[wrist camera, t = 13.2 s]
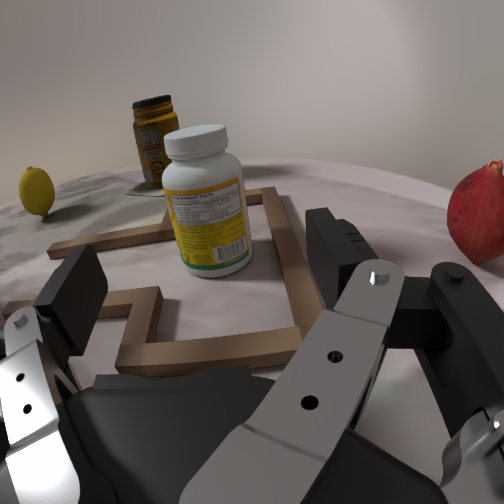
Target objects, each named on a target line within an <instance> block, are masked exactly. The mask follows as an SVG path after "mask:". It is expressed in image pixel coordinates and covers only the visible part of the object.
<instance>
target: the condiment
mask: <svg viewBox="0 0 504 504" xmlns="http://www.w3.org/2000/svg"><path fill="white" fill-rule="evenodd" d="M171 102H172V101H171V96H170V95H163V96H158V97H154V98H149V99H145V100H141V101H138V102H135V103H133V106H132V108H133V111H134V114H133V115H134V118H135V119H134V124H133V129H134V134H135V138H136V144H137V148H138V152H139V157H140V161H141V166H142V170H143V174H144V178H145V181H146V182H144V183H141V184H139V185H138V186H136V187H134V188H133V189H130V190H128V191H126V192H125V194H131V195H144V196H150V195H151V196H163V195H164V194H165V193H164V189H163V184H162V175H163V172H164V170H165V169H166V168H167V167H168V166H169V165H170V164H171V163H173V162H172V159H170V158H168V155H167V154H166V150H165V144H164V136H165V135H167V134H169V133H171V132H174V131H177V130H179V124H178V119H177V115H176V113H175V112H174V111H173V106H172V103H171Z"/></svg>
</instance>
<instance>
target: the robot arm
mask: <svg viewBox="0 0 504 504" xmlns="http://www.w3.org/2000/svg"><path fill="white" fill-rule="evenodd" d="M305 219H306V243H307V256H308V261H309V265H310V267H311V270H312V272H313V275H314V277H315V279H316V282H317V284H318V287H319V289H320V292H321V294H322V297H323V299H324V302H325V304H326V307H327V308H325V309H324V310H323V311H322V312H321V313H320V315H319V316H318V318H317V320H316V321H315V323H314V324H313V326H312V328H311V329H310V331H309V332H308V334H307V335H306V337H305V339H304V340H303V342H302V343H301V345H300V346H299V348H298V349H297V351H296V352H295V354H294V356H293V357H292V359H291V360H290V362H289V363H288V365H287V366H286V368H285V369H284V370H283V372H282V373H281V375H280V376H279V378H278V379H277V381H275V380H272V379H268V378H263V377H257V376H251V373H250V368H249V364H245V365H237V366H229V367H220V368H211V369H205V370H202V371H199V372H195V373H192V374H189V375H185V376H182V377H178V378H175V379H171V380H167V381H162V380H156V379H151V378H146V377H141V376H136V375H131V374H110V375H96V378H95V381H94V385H93V387H89V388H86V389H84V390H83V389H82V387H81V385H80V382H79V380H78V378H77V375H76V373H75V371H74V368H73V366H72V364H71V363H70V362H69V360H68V359H69V356H83V354H84V351H85V349H86V346H87V343H88V340H89V338H90V335H91V332H92V330H93V327H94V325H95V322H96V320H97V317H98V315H99V312H100V310H101V307H102V305H103V302H104V300H105V298H106V295H107V292H108V283H107V279H106V276H105V274H104V271H103V269H102V267H101V264H100V262H99V259H98V257H97V254H96V252H95V250H94V248H93V247H92V246H91V245H84V246H79V247H74V248H72V249H71V251H70V252H69V253H68V255H67V256H66V258H65V259H64V261H63V262H62V263H61V265H60V266H59V267H58V268H57V269H55V271H54V272H53V274H52V275H51V277H50V278H49V279H50V280H48V281H47V283H46V284H45V287H43V289H42V291H41V292H40V294H39V295H38V297H37V299H36V300H35V302H34V303H33V305H32V307H31V306H27V307H23V308H21V309H19V310H17V311H16V312H14V313H13V314H12V315H11V316H10V317H9V318H8V320H7V321H6V323H5V326H4V330H1V331H0V504H504V312H503V311H502V310H501V308H500V307H499V306H498V304H497V303H496V302H495V301H494V299H493V298H492V297H491V295H490V294H489V293H488V292H487V290H486V289H485V288H484V287H483V285H482V284H481V283H480V282H479V281H478V279H477V278H476V277H475V276H474V275H473V273H472V272H471V271H470V270H469V269H467V268H466V267H464V266H462V265H460V264H457V263H452V262H442V263H439V264H437V265H435V266H434V267H433V269H432V272H431V276H430V278H428V277H407V276H404V272H403V271H402V269H401V268H400V267H399V266H398V265H396V264H394V263H393V262H390V261H387V260H382V259H379V258H378V256H377V255H376V254H375V252H374V251H373V250H372V248H371V247H370V245H369V244H368V243H367V242H366V240H364V238H363V236H362V235H361V234H360V232H359V231H358V230H357V228H356V227H355V226H354V225H353V224H351V223H350V222H348V221H346V220H344V219H338V220H336V219H335V218H334V216H333V215H332V213H331V212H330V211H329V209H328V208H327V207H326V208H318V209H310V210H306V214H305ZM388 348H393V349H414V351H415V354H416V356H417V358H418V360H419V362H420V364H421V367H422V369H423V371H424V373H425V376H426V378H427V380H428V383H429V385H430V387H431V390H432V392H433V394H434V397H435V399H436V401H437V404H438V406H439V409H440V411H441V414H442V416H443V419H444V422H445V424H446V427H447V429H448V432H449V435H450V438H451V440H450V441H449V442H448V443H447V445H446V446H445V448H444V451H443V455H442V465H443V477H442V481H441V483H440V485H439V486H438V485H437V484H436V483H435V482H434V481H432V480H431V479H430V478H428V477H427V476H425V475H423V474H421V473H420V472H418V471H416V470H415V469H413V468H411V467H410V466H408V465H406V464H405V463H403V462H401V461H400V460H398V459H397V458H395V457H393V456H392V455H390V454H389V453H387V452H385V451H384V450H382V449H381V448H379V447H378V446H376V445H375V444H373V443H372V442H370V441H369V440H367V439H366V438H364V437H363V436H361V435H360V434H358V433H357V432H355V430H356V428H357V425H358V423H359V421H360V419H361V417H362V414H363V412H364V409H365V407H366V404H367V402H368V399H369V396H370V394H371V391H372V389H373V386H374V384H375V382H376V379H377V376H378V374H379V371H380V369H381V366H382V363H383V361H384V358H385V355H386V352H387V349H388Z"/></svg>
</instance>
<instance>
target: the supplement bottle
mask: <svg viewBox="0 0 504 504" xmlns="http://www.w3.org/2000/svg"><path fill="white" fill-rule="evenodd" d="M164 144H165V150H166V154H167V155H168V158H170V159H172V162H173V163H171V164H170V165H169V166H168V167H167V168H166V169H165V170H164V172H163V175H162V184H163V189H164V193H165V198H166V202H167V206H168V210H169V214H170V218H171V222H172V226H173V229H174V234H175V238H176V241H177V245H178V249H179V252H180V256H181V259H182V262H183V265H184V266H185V268H186V269H187V270H188V271H189V272H190V273H192V274H194V275H196V276H200V277H206V278H214V277H222V276H226V275H229V274H232V273H234V272H236V271H238V270H240V269H241V268H242V267H244V266H245V265H246V264H247V263H248V261H249V260H250V258H251V256H252V241H251V234H250V226H249V218H248V211H247V203H246V196H245V188H244V180H243V172H242V166H241V163H240V161H239V160H238V159H237V158H236V157H235V156H233V155H231V154H229V153H225V149H226V148H227V147H228V138H227V131H226V127H225V125H221V124H211V125H201V126H195V127H189V128H185V129H181V130H177V131H174V132H171V133H169V134H167V135H165V136H164Z"/></svg>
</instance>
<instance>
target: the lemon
mask: <svg viewBox="0 0 504 504" xmlns="http://www.w3.org/2000/svg"><path fill="white" fill-rule="evenodd" d="M19 196H20V199H21V202H22V204H23V206H24V208H25V209H26V210H27V211H28V212H29V213H31V214H33V215H40V216H42V217H46V216H47V214H48V211H49V209H50V208H51V207H52V205H53V203H54V198H55V191H54V186H53V183H52V181H51V179H50V177H49V176H48V174H47V173H46V172H45V171H44V170H42V169H40V168H33V167H28V168H27V170H26V172H25V173H24V174H23V175H22V177H21V179H20V182H19Z"/></svg>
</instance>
